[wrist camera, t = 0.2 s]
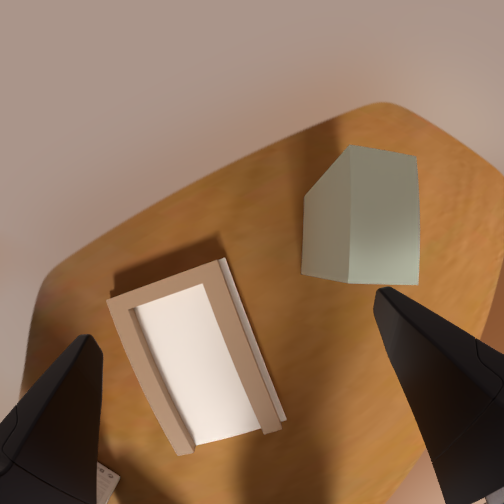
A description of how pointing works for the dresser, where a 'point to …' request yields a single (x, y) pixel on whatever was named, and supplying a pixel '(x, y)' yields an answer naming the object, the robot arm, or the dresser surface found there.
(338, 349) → the dresser surface
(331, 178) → the door panel
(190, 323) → the track
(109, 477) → the skincare box
